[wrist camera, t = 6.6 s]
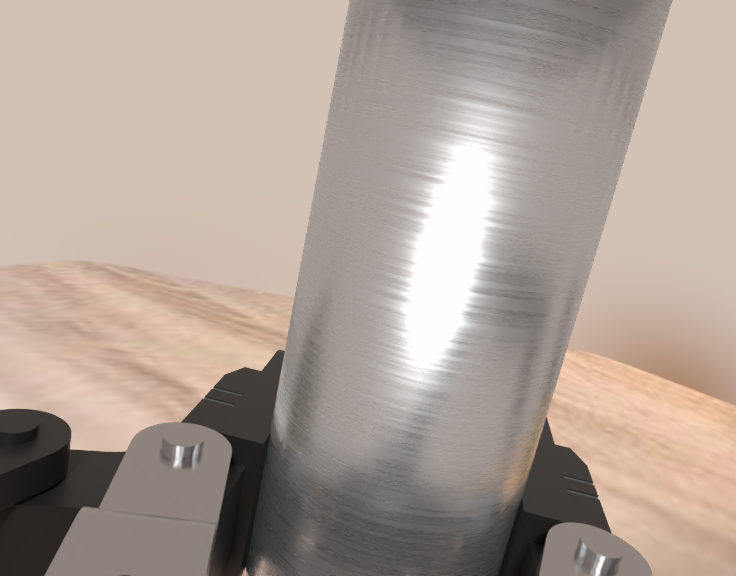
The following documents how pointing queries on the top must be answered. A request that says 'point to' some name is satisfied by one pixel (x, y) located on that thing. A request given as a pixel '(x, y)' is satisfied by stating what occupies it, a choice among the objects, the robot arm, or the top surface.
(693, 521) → the top surface
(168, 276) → the top surface
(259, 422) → the robot arm
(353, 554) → the hinge pin
